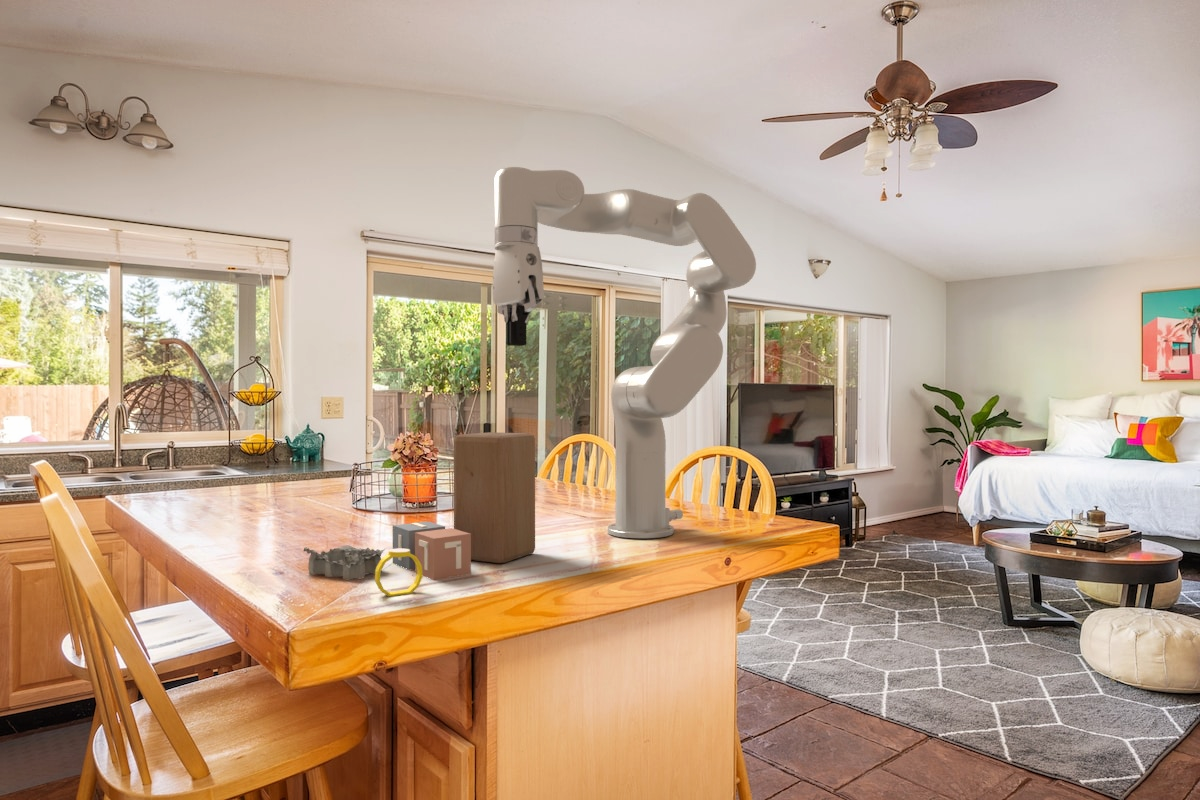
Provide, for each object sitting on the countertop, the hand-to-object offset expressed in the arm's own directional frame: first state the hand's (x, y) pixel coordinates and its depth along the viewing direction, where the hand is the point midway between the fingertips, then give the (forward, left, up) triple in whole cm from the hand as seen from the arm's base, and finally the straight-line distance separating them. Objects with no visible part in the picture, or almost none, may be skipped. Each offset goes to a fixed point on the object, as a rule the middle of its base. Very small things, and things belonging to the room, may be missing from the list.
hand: (516, 345), depth 132 cm
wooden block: (+8, +6, -35) cm, 37 cm away
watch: (+30, +18, -35) cm, 50 cm away
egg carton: (+31, +1, -36) cm, 47 cm away
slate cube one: (+20, +3, -35) cm, 41 cm away
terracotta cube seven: (+20, +11, -35) cm, 42 cm away
